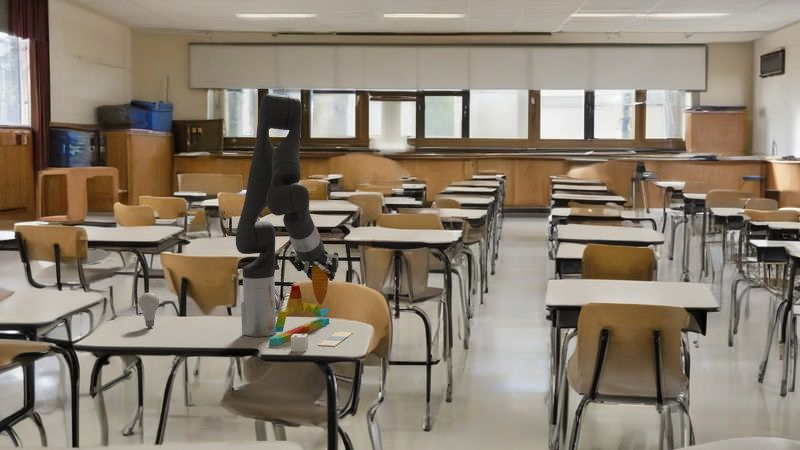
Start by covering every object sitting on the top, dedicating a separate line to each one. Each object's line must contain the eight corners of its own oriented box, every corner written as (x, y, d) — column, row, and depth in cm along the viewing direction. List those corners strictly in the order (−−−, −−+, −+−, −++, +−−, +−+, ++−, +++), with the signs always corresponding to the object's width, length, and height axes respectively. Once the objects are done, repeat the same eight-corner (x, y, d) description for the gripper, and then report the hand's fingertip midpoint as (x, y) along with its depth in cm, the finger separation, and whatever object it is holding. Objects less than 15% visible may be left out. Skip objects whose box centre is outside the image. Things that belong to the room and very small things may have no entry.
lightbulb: (144, 331, 283) (143, 295, 282) (136, 327, 288) (134, 292, 287) (163, 328, 287) (162, 292, 286) (155, 324, 292) (153, 290, 291)
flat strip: (317, 345, 261) (317, 344, 261) (336, 332, 277) (336, 331, 277) (334, 346, 260) (334, 345, 260) (353, 333, 276) (353, 332, 276)
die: (291, 351, 255) (290, 336, 255) (293, 348, 259) (293, 333, 259) (305, 351, 255) (305, 336, 255) (308, 348, 259) (307, 333, 259)
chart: (320, 323, 292) (319, 275, 290) (329, 324, 290) (328, 276, 289) (268, 345, 264) (266, 292, 262) (278, 346, 263) (276, 293, 261)
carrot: (316, 302, 259) (315, 248, 257) (332, 303, 257) (331, 249, 256) (308, 306, 254) (307, 251, 253) (325, 307, 253) (324, 251, 251)
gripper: (335, 229, 244) (350, 267, 257) (283, 228, 248) (301, 266, 261) (328, 252, 240) (344, 290, 253) (276, 250, 243) (294, 288, 256)
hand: (322, 277), depth 257 cm, fingers closed on carrot, 5 cm apart
